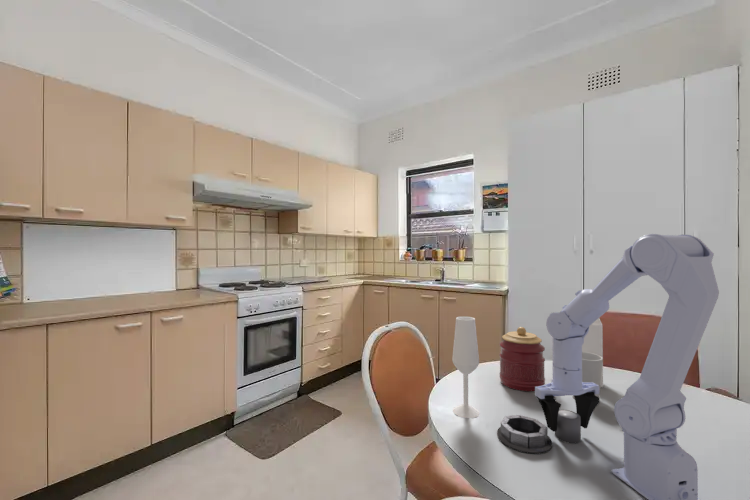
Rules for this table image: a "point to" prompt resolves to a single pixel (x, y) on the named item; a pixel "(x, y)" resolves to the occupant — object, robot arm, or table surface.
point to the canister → (521, 360)
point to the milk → (594, 342)
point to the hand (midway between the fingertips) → (567, 427)
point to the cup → (591, 369)
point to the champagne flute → (465, 359)
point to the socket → (524, 434)
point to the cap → (568, 426)
